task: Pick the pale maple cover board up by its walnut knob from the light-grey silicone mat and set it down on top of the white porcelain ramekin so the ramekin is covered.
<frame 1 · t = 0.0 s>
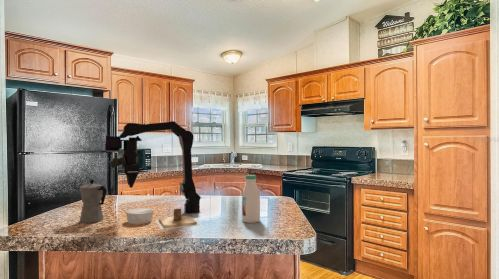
hand: (130, 186, 138), 15 cm above the countertop, fingers open, 9 cm apart
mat: (177, 223, 130), on the countertop
coffeepot: (93, 221, 135), on the countertop
cover board: (177, 222, 130), point 1 cm above the countertop, touching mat
ramekin: (139, 223, 132), on the countertop
milk bottle: (251, 221, 135), on the countertop
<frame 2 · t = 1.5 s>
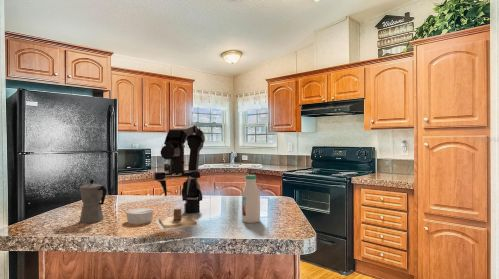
hand: (177, 195, 130), 12 cm above the countertop, fingers open, 9 cm apart
nothing on the countertop moved.
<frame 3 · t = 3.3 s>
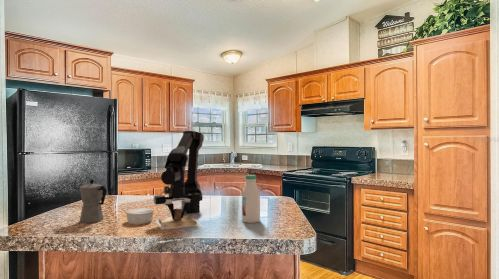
hand: (177, 218, 130), 2 cm above the countertop, fingers closed on cover board, 3 cm apart
cover board: (177, 222, 130), point 1 cm above the countertop, touching gripper, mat
everything else where it was.
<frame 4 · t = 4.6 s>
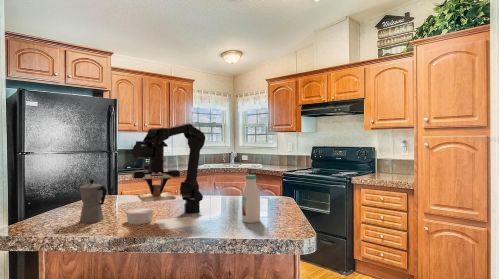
hand: (156, 194, 131), 12 cm above the countertop, fingers closed on cover board, 3 cm apart
cover board: (156, 198, 131), point 11 cm above the countertop, touching gripper
everything else where it was.
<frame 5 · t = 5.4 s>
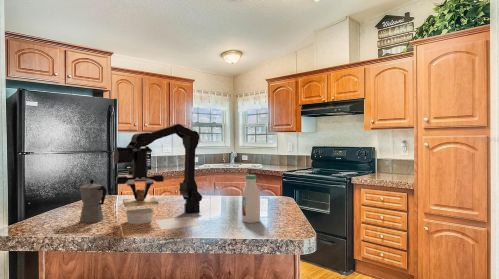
hand: (140, 199, 133), 10 cm above the countertop, fingers closed on cover board, 3 cm apart
cover board: (140, 202, 132), point 8 cm above the countertop, touching gripper
everything else where it was.
when the fingers open (8 cm above the countertop, at t = 5.9 s): cover board drops 1 cm, resting on ramekin.
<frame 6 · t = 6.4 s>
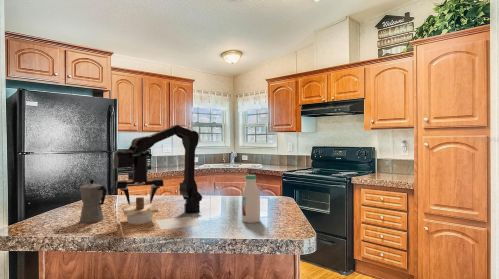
hand: (140, 203, 132), 8 cm above the countertop, fingers open, 8 cm apart
cover board: (139, 210, 132), point 5 cm above the countertop, touching ramekin
ramekin: (139, 223, 132), on the countertop, touching cover board
everything else where it was.
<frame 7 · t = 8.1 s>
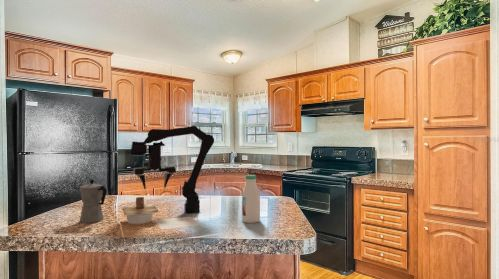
hand: (155, 188, 147), 12 cm above the countertop, fingers open, 9 cm apart
nothing on the countertop moved.
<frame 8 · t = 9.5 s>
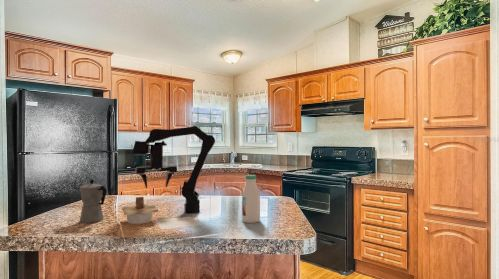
hand: (156, 187, 149), 13 cm above the countertop, fingers open, 9 cm apart
nothing on the countertop moved.
at the end: cover board 0.1 cm from the ramekin (horizontally); cover board point 5.1 cm above the countertop; the gripper is holding nothing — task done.
